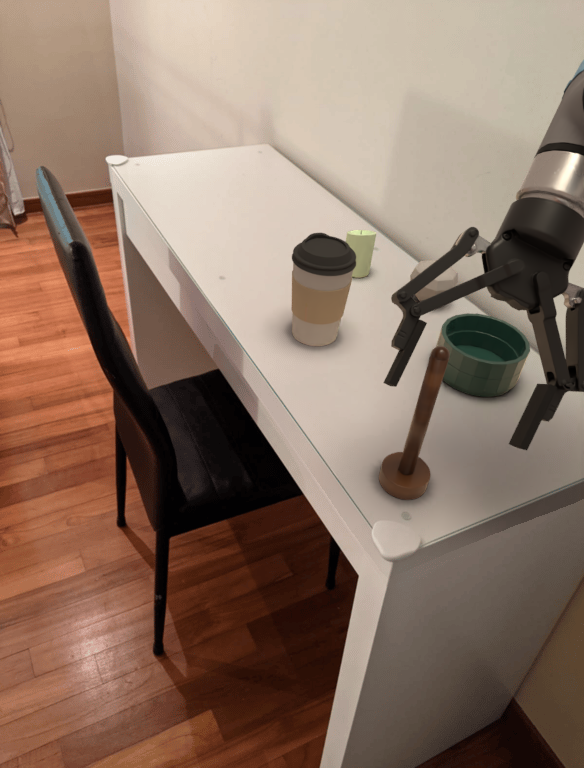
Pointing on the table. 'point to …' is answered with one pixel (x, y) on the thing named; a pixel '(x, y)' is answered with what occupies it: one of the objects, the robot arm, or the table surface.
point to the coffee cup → (320, 287)
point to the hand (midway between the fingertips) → (453, 416)
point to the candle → (361, 250)
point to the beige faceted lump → (438, 284)
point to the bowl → (483, 354)
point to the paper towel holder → (415, 437)
